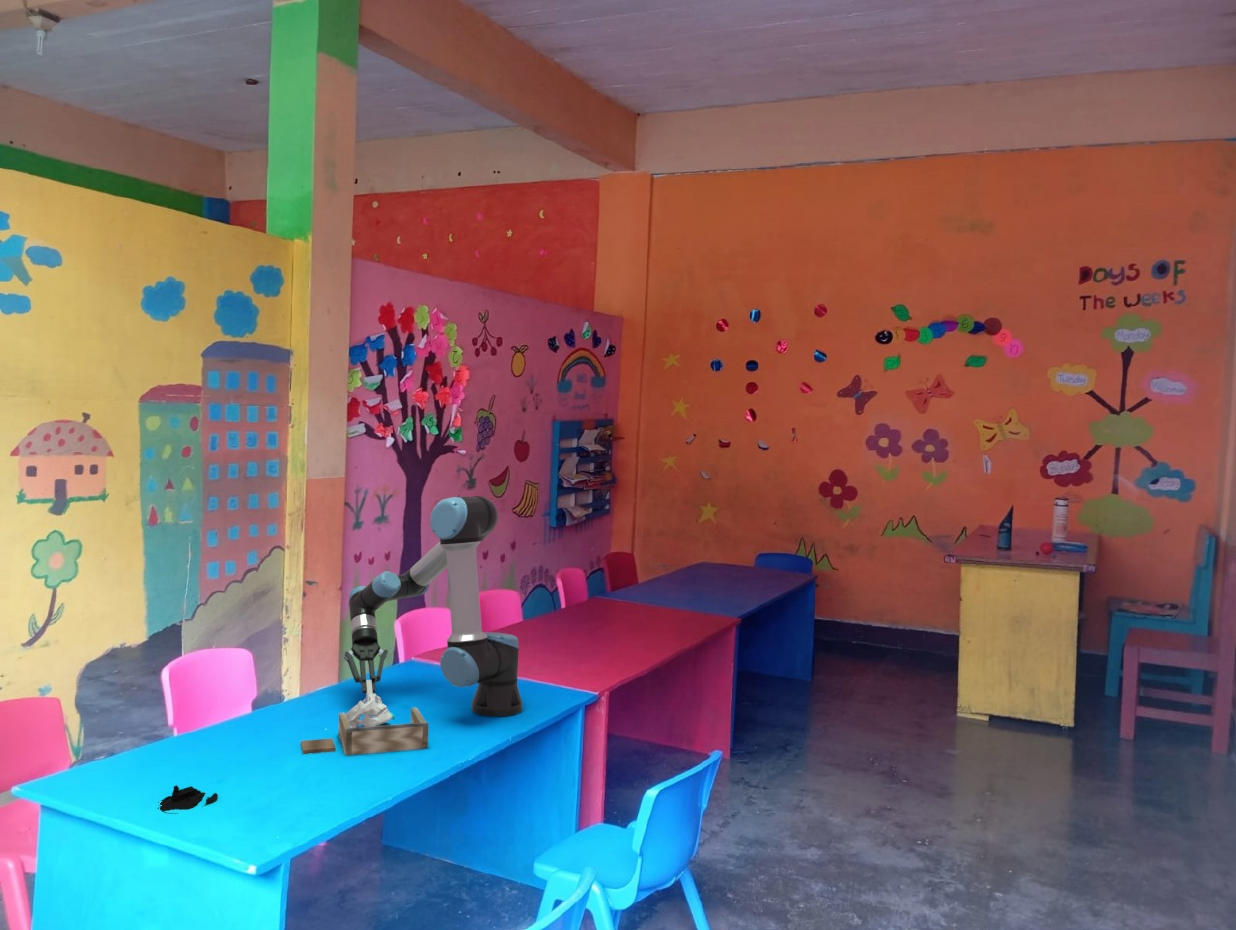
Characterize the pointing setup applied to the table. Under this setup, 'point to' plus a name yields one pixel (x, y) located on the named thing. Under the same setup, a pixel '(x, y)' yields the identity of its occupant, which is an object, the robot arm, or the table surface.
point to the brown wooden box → (384, 736)
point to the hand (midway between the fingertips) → (370, 701)
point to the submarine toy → (185, 799)
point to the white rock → (369, 713)
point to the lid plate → (318, 746)
